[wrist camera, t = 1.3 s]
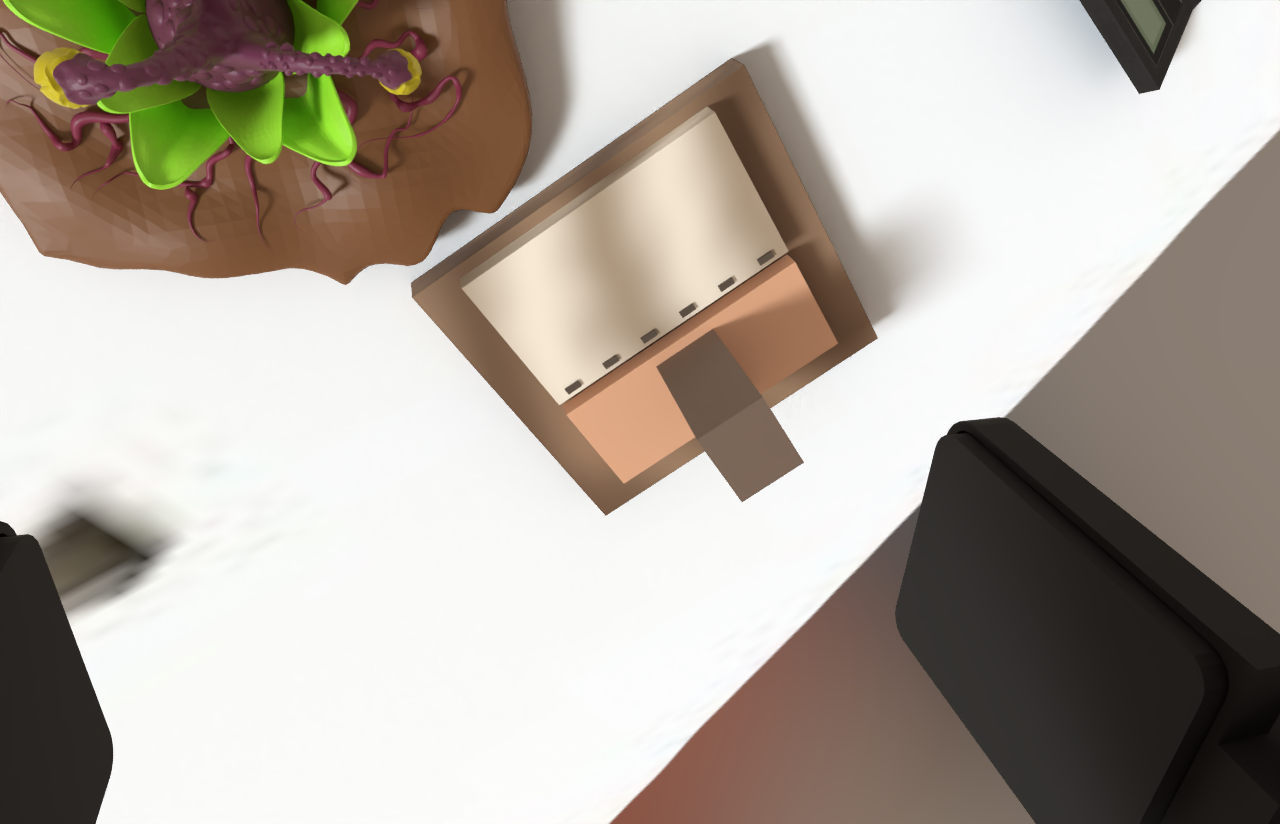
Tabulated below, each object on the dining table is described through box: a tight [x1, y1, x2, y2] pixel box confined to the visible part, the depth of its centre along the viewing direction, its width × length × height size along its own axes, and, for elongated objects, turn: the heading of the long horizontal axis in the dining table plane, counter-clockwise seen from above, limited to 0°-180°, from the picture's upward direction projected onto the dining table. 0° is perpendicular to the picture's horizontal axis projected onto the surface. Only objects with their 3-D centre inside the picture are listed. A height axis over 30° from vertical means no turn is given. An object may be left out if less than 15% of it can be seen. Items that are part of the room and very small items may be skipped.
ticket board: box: [411, 58, 877, 515], centre depth 39 cm, size 16×15×3 cm
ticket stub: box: [563, 255, 838, 502], centre depth 37 cm, size 12×5×7 cm, turn 121°
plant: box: [0, 0, 532, 285], centre depth 25 cm, size 20×20×11 cm
